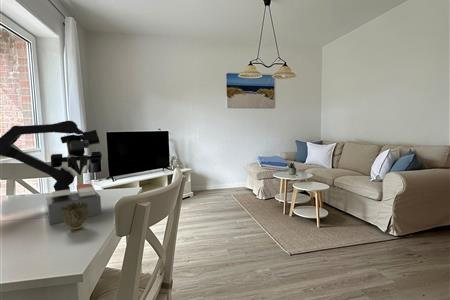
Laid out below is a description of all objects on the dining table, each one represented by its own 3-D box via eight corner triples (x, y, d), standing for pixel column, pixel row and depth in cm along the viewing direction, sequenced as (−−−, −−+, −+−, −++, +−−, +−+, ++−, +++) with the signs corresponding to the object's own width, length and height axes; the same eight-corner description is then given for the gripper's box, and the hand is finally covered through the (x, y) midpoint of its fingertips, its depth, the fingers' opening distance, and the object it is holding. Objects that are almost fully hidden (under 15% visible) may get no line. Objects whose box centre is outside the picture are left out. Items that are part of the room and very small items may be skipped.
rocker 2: (76, 189, 95) (76, 185, 95) (91, 187, 98) (91, 183, 98) (80, 197, 89) (79, 192, 89) (95, 195, 92) (95, 190, 92)
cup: (77, 235, 75) (75, 209, 74) (56, 233, 76) (55, 208, 75) (95, 225, 82) (93, 202, 81) (76, 224, 83) (74, 201, 83)
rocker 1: (51, 197, 90) (51, 191, 91) (67, 194, 94) (67, 189, 94) (53, 198, 84) (52, 192, 84) (70, 195, 87) (69, 189, 87)
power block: (47, 215, 93) (46, 196, 93) (94, 206, 103) (93, 189, 102) (49, 224, 84) (48, 203, 83) (101, 213, 93) (100, 195, 93)
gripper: (48, 134, 99) (52, 164, 92) (99, 133, 111) (107, 159, 103) (49, 152, 106) (53, 181, 99) (97, 149, 118) (103, 175, 110)
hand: (80, 174), depth 102 cm, fingers closed
